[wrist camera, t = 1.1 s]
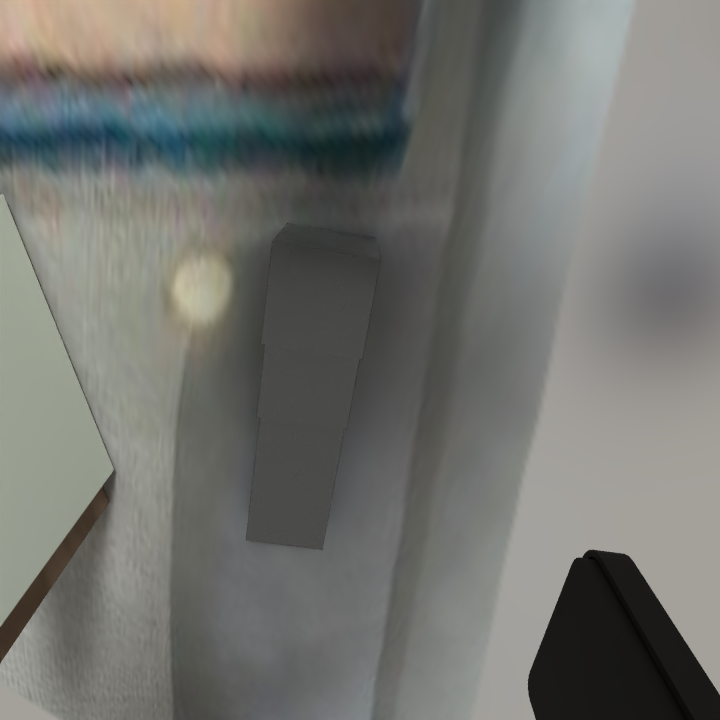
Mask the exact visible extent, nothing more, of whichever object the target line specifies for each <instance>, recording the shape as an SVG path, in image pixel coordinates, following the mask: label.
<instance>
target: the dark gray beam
mask: <svg viewBox="0 0 720 720" xmlns="http://www.w3.org/2000/svg"><path fill="white" fill-rule="evenodd" d="M379 265H380V256H379V251H378V247H377V242H376V238H372V237H366V236H360V235H354V234H348V233H342V232H337V231H331V230H325V229H319V228H313V227H307V226H301V225H295V224H290V223H287V224H286V226H285V227H284V228H283V229H282V231H281V232H280V233H279V234H278V236H277V237H276V238H275V239H274V240H273V242H272V249H271V258H270V267H269V276H268V285H267V294H266V303H265V312H264V321H263V330H262V339H261V344H264V345H265V349H264V358H263V367H262V375H261V384H260V393H259V402H258V410H257V417H260V423H259V431H258V440H257V449H256V457H255V466H254V474H253V483H252V491H251V500H250V508H249V517H248V525H247V534H246V540H250V541H257V542H265V543H273V544H281V545H288V546H296V547H304V548H312V549H319V550H323V544H324V539H325V533H326V527H327V522H328V516H329V511H330V505H331V500H332V494H333V489H334V483H335V478H336V472H337V466H338V461H339V455H340V450H341V444H342V439H343V433H344V430H347V424H348V419H349V413H350V408H351V402H352V397H353V391H354V386H355V380H356V375H357V369H358V364H359V359H361V360H362V358H363V352H364V347H365V341H366V336H367V331H368V325H369V320H370V314H371V309H372V303H373V298H374V293H375V287H376V282H377V276H378V271H379Z"/></svg>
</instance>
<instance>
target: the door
mask: <svg viewBox="0 0 720 720" xmlns="http://www.w3.org/2000/svg"><path fill="white" fill-rule="evenodd" d="M113 471H114V468H113V466H112V463H111V461H110V458H109V456H108V454H107V451H106V449H105V446H104V444H103V441H102V439H101V436H100V434H99V431H98V429H97V426H96V424H95V421H94V419H93V416H92V414H91V411H90V409H89V406H88V404H87V401H86V399H85V396H84V394H83V391H82V389H81V386H80V384H79V381H78V379H77V376H76V374H75V372H74V369H73V367H72V364H71V362H70V359H69V357H68V354H67V352H66V349H65V347H64V344H63V342H62V339H61V337H60V334H59V332H58V329H57V327H56V324H55V322H54V319H53V317H52V314H51V312H50V309H49V307H48V304H47V302H46V299H45V297H44V295H43V292H42V290H41V287H40V285H39V282H38V280H37V277H36V275H35V272H34V270H33V267H32V265H31V262H30V260H29V257H28V255H27V252H26V250H25V247H24V245H23V242H22V240H21V237H20V235H19V232H18V230H17V227H16V225H15V222H14V220H13V217H12V215H11V213H10V210H9V208H8V205H7V203H6V200H5V198H4V195H3V194H0V626H1V625H2V624H3V622H4V621H5V620H6V618H7V617H8V615H9V614H10V613H11V611H12V610H13V609H14V607H15V606H16V604H17V603H18V602H19V600H20V599H21V598H22V596H23V595H24V593H25V592H26V591H27V589H28V588H29V586H30V585H31V584H32V582H33V581H34V580H35V578H36V577H37V575H38V574H39V573H40V571H41V570H42V569H43V567H44V566H45V564H46V563H47V562H48V560H49V559H50V557H51V556H52V555H53V553H54V552H55V551H56V549H57V548H58V546H59V545H60V544H61V542H62V541H63V540H64V538H65V537H66V535H67V534H68V533H69V531H70V530H71V529H72V527H73V526H74V524H75V523H76V522H77V520H78V519H79V517H80V516H81V515H82V513H83V512H84V511H85V509H86V508H87V506H88V505H89V504H90V502H91V501H92V500H93V498H94V497H95V495H96V494H97V493H98V491H99V490H100V488H101V487H102V486H103V484H104V483H105V482H106V480H107V479H108V477H109V476H110V475H111V473H112V472H113Z"/></svg>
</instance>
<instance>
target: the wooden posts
mask: <svg viewBox="0 0 720 720" xmlns="http://www.w3.org/2000/svg"><path fill="white" fill-rule="evenodd" d="M108 503H109V501H108V499H107V496H106V494H105V492H104V489H103V487H101V488H100V490H99V491H98V493H97V494H96V495H95V497H94V498H93V500H92V501H91V502H90V504H89V505H88V506H87V508H86V509H85V511H84V512H83V513H82V515H81V516H80V517H79V519H78V520H77V522H76V523H75V524H74V526H73V527H72V529H71V530H70V531H69V533H68V534H67V535H66V537H65V538H64V540H63V541H62V542H61V544H60V545H59V546H58V548H57V549H56V551H55V552H54V553H53V555H52V556H51V557H50V559H49V560H48V562H47V563H46V564H45V566H44V567H43V569H42V570H41V571H40V573H39V574H38V575H37V577H36V578H35V580H34V581H33V582H32V584H31V585H30V586H29V588H28V589H27V591H26V592H25V593H24V595H23V596H22V598H21V599H20V600H19V602H18V603H17V604H16V606H15V607H14V609H13V610H12V611H11V613H10V614H9V615H8V617H7V618H6V620H5V621H4V622H3V624H2V625H1V626H0V663H1V661H2V660H3V658H4V657H5V655H6V654H7V652H8V651H9V649H10V648H11V646H12V645H13V644H14V642H15V641H16V639H17V638H18V636H19V635H20V633H21V632H22V630H23V629H24V627H25V626H26V624H27V623H28V621H29V620H30V618H31V617H32V615H33V614H34V612H35V611H36V609H37V608H38V606H39V605H40V603H41V602H42V601H43V599H44V598H45V596H46V595H47V593H48V592H49V590H50V589H51V587H52V586H53V584H54V583H55V581H56V580H57V578H58V577H59V575H60V574H61V572H62V571H63V569H64V568H65V566H66V565H67V563H68V562H69V560H70V559H71V557H72V556H73V555H74V553H75V552H76V550H77V549H78V547H79V546H80V544H81V543H82V541H83V540H84V538H85V537H86V535H87V534H88V532H89V531H90V529H91V528H92V526H93V525H94V523H95V522H96V520H97V519H98V517H99V516H100V514H101V513H102V512H103V510H104V509H105V507H106V506H107V504H108Z"/></svg>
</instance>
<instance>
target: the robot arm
mask: <svg viewBox="0 0 720 720" xmlns="http://www.w3.org/2000/svg"><path fill="white" fill-rule="evenodd" d="M528 691H529V698H530V702H531V705H532V708H533V711H534V715H535V718H536V720H720V695H719V693H718V691H717V690H716V688H715V687H714V685H713V684H712V682H711V681H710V679H709V678H708V676H707V675H706V673H705V671H704V670H703V668H702V667H701V665H700V664H699V662H698V661H697V659H696V657H695V656H694V655H693V653H692V651H691V650H690V648H689V647H688V645H687V644H686V642H685V641H684V639H683V637H682V636H681V634H680V633H679V631H678V630H677V628H676V627H675V625H674V624H673V622H672V621H671V619H670V617H669V616H668V614H667V613H666V611H665V610H664V608H663V607H662V605H661V604H660V602H659V600H658V599H657V598H656V596H655V594H654V593H653V591H652V590H651V588H650V586H649V585H648V583H647V582H646V580H645V579H644V577H643V576H642V574H641V573H640V571H639V569H638V568H637V566H636V565H635V563H634V562H633V561H632V559H631V558H630V557H629V556H627V555H625V554H621V553H613V552H605V551H598V550H588V551H587V552H586V553H585V554H584V556H583V558H576V559H575V560H574V561H573V563H572V565H571V568H570V570H569V573H568V576H567V578H566V581H565V583H564V586H563V588H562V591H561V594H560V596H559V599H558V601H557V604H556V606H555V609H554V611H553V614H552V617H551V619H550V622H549V624H548V627H547V629H546V632H545V635H544V637H543V640H542V642H541V645H540V648H539V650H538V653H537V655H536V658H535V660H534V663H533V666H532V668H531V670H530V674H529V679H528Z"/></svg>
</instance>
